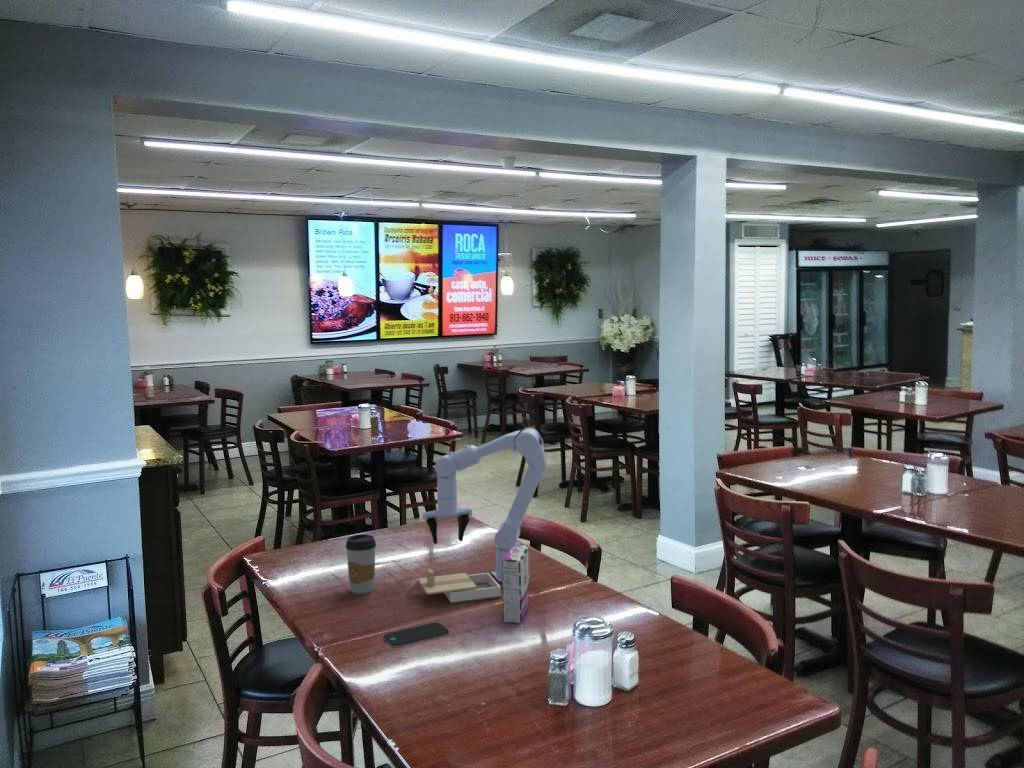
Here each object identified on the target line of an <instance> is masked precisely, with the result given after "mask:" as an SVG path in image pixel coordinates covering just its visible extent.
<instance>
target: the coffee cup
mask: <svg viewBox="0 0 1024 768" xmlns="http://www.w3.org/2000/svg"><path fill="white" fill-rule="evenodd" d="M376 543H377V542H376V539H375V537H374V535H371V534H356V535H351V536H349V537H347V541H346V542H345V549H346V556H347V570H348V579H349V589H350V591H351V593H352V594H354V595H366V594H369V593H371V592H373V589H374V586H375V573H376V572H375V571H376V570H375V568H376V546H377V544H376Z"/></svg>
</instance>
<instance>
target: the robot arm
mask: <svg viewBox="0 0 1024 768" xmlns="http://www.w3.org/2000/svg"><path fill="white" fill-rule="evenodd" d="M502 450H510V451H513V452H515V450H517V452H518V453H519V454H521V456H523V458H524V459H525V461H526V464H527V466H528V467H527V470H526V472H525V474H524V477H523V478H522V481H521V484H520V486H519V488H518V490H517V493H516V496H515V498H514V500H513V503H512V505H511V506H510V507H511V508H510V509H509V512H508V514H507V517H506V518H505V521H502V523H501V524H500V526H499V529H498V530H497V531H496V533H495V536H494V542H495V571H491V576H492V575H493V577H494V579H496V581H498V582H499V583H501V582H502V583H503V575H502V560H503V558H504V557H505V555H506V554H507V552H508V551H509V549H510V547H527V545H524V544H522V545H521V544H520V541H519V537H520V535H521V524H522V522H523V520H524V517H525V515H526V513H527V510H528V509H529V505H530V503H531V501H532V499H533V497H534V494H535V492H536V489H537V487H538V485H539V483H540V480H541V478H542V476H543V474H544V471H545V469H546V467H547V458H546V457H547V456H546V453H545V447H544V439H543V438H542V435H540V432H539V431H538V430H537V429H535V428H534V427H526V428H524V429H522V430H521V429H520V430H515V431H512V432H510V433H509V432H508V433H506V434H504V435H502V436H499V437H498V438H495V439H494V440H491V441H489V442H486V443H485V444H482V445H479V446H475V445H474V444H471V445H469V444H465V445H463V446H462V448H460V449H459V450H456V451H449V452H448V454H445V455H442V456H441V457H439V459H438V460H437V461H436V462H435V466H434V471H435V473H436V474H437V475H436V477H437V481H436V485H437V486H436V495H437V499H436V500H437V501H436V502H437V509H434V510H430V511H425V512H424V511H423V512H422V520H423V521H426V524H427V525H428V528H429V531H430V533H431V538H432V542H433V544H435V545H437V544H438V535H437V533H438V532H437V531H438V522H437V519H447V518H457V523H458V534H457V535H458V536H457V538H458V540H459V542H462V541H463V540H464V539H463V538H464V534H465V531H466V529H467V526H468V524H469V522H470V517H473V509H472V508H470V507H466V508H464V507H463V508H461V507H460V508H458V494H457V493H458V485H457V472H461V471H463V470H466V469H469V468H470V467H473V466H476V465H478V464H480V462H481V460H482V458H484V457H486V456H489V455H492V454H495V453H497V452H501V451H502ZM456 471H457V472H456ZM528 569H529V570H530V554H529V552H528ZM530 578H531V576H530V575H529V579H530Z"/></svg>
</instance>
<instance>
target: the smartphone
mask: <svg viewBox="0 0 1024 768" xmlns="http://www.w3.org/2000/svg"><path fill="white" fill-rule="evenodd" d="M449 634H450V631H449V629H448V628H447V627H446V626H444V625H443V624H441V623H440V622H430V623H426V624H421V625H418V626H413V627H410V628H409V627H408V628H405V629H401V630H396V631H392V632H389V633H386V634H384V635H383V639H384V641H386V643H388V645H390V646H391V647H394V648H401V647H405V646H409V645H413V644H418V643H421V642H425V641H429V640H433V639H437V638H442V637H446V636H448V635H449Z"/></svg>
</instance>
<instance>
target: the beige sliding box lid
mask: <svg viewBox="0 0 1024 768" xmlns="http://www.w3.org/2000/svg"><path fill="white" fill-rule="evenodd" d="M426 574H427V575H426V577H420V578H417V580H418V583H420V586H421V587H422V589H423V590H424V592H425V594H426V595H435V594H444V592H452V591H460V590H468V589H476V588H477V586H476V585H475V584H474V583H473V581H472V580H471V579H470V578H469V576H468V575H469V574H467V573H466V572H462V573H454V574H453V573H452V574H445V575H435V572H434V570H433V569H432V568H427V569H426Z"/></svg>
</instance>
